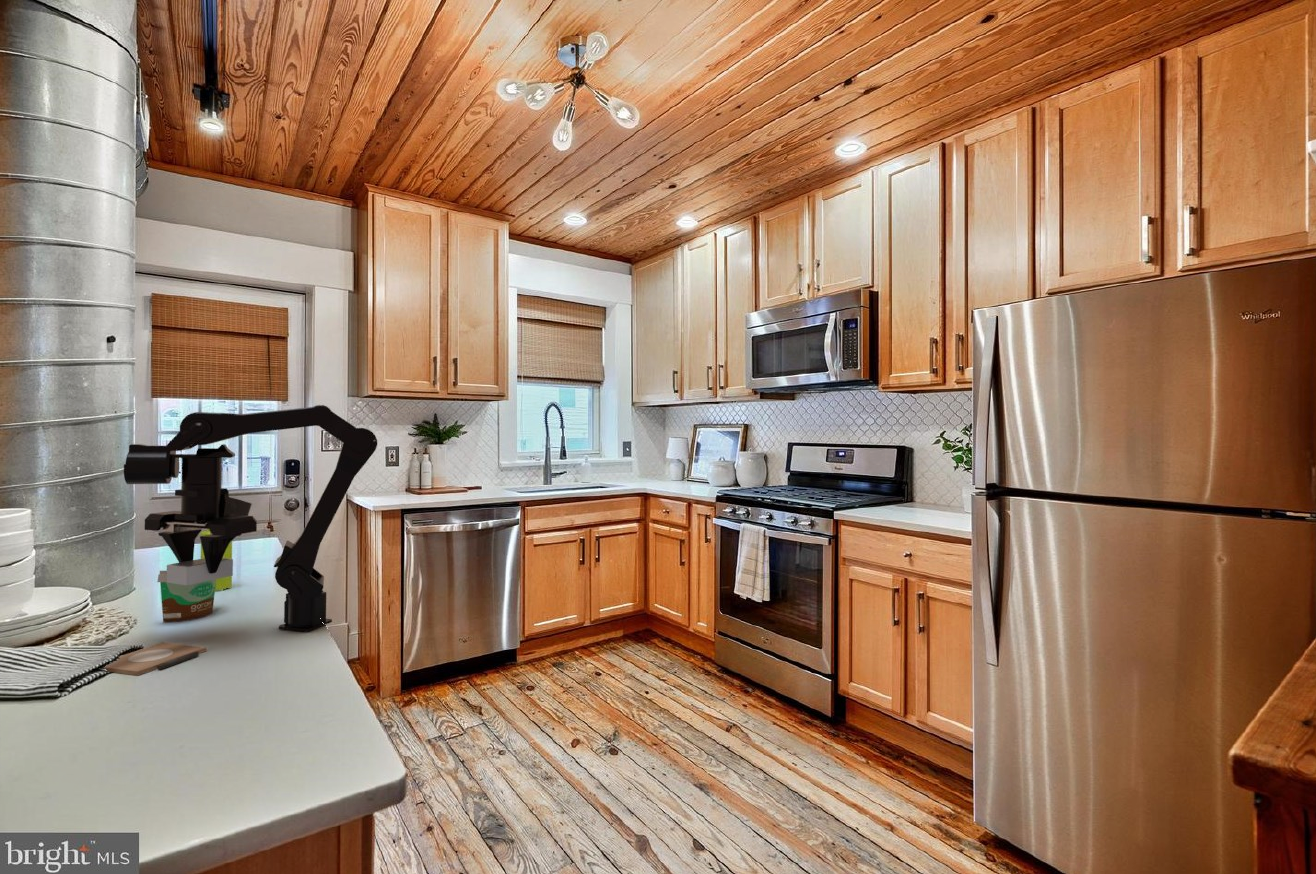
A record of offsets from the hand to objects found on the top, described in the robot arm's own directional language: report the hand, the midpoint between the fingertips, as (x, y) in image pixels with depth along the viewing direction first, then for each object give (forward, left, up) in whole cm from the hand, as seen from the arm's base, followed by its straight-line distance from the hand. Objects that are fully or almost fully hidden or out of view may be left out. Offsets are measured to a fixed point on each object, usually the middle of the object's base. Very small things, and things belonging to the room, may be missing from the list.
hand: (200, 572), depth 111 cm
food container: (+12, -11, -12) cm, 20 cm away
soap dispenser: (+27, -28, -12) cm, 41 cm away
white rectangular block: (0, 0, -1) cm, 1 cm away
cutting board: (-3, +10, -12) cm, 16 cm away
